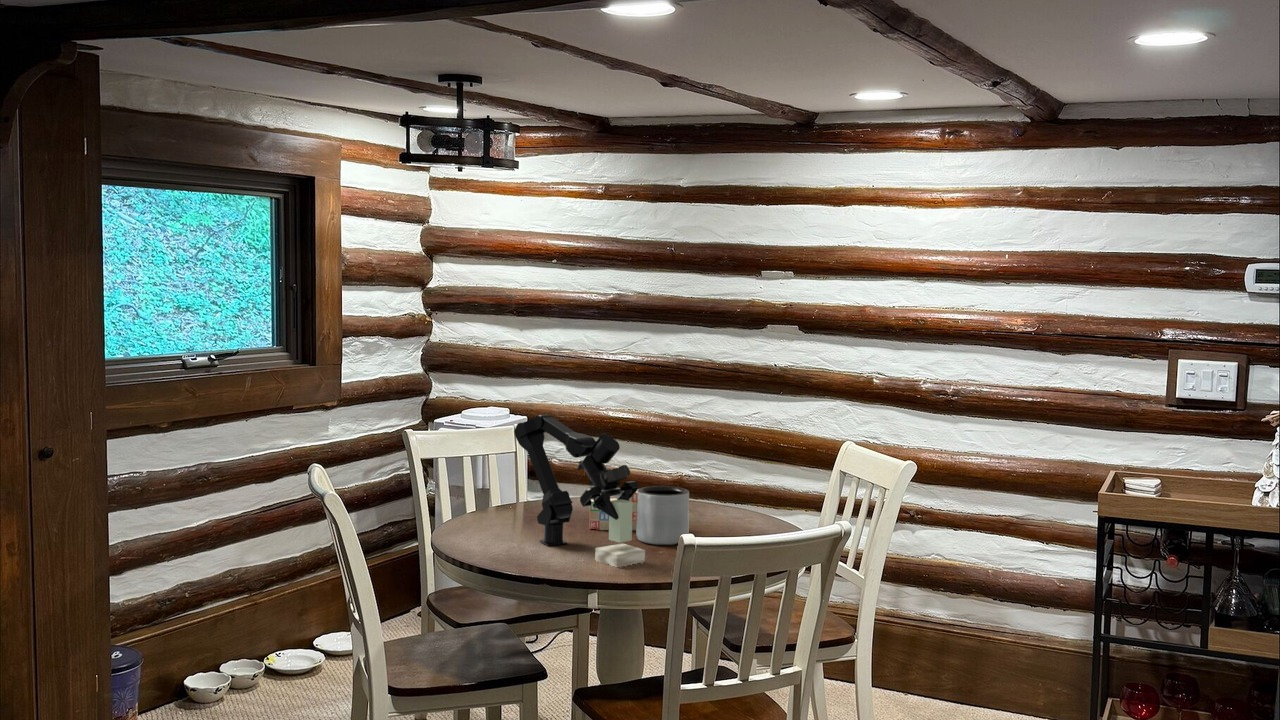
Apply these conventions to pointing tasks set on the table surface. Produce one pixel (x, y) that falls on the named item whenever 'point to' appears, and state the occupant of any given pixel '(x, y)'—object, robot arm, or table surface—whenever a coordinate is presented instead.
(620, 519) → the tall sage block
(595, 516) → the stack of blocks
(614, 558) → the cream base block
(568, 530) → the table surface
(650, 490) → the planter
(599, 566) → the table surface
